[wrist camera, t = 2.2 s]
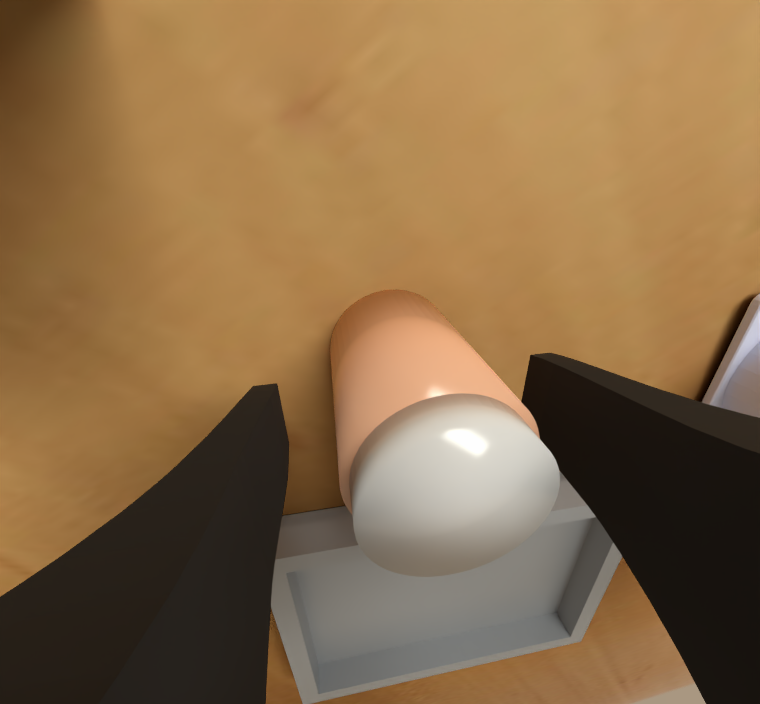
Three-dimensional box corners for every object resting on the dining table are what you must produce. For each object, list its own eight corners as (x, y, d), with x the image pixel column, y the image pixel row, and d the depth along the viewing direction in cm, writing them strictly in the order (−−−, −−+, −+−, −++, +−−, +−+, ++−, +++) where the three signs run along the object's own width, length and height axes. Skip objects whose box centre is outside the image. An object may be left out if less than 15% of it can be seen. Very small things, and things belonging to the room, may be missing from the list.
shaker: (451, 285, 12) (596, 401, 6) (444, 390, 14) (545, 561, 8) (323, 295, 11) (331, 437, 5) (335, 403, 13) (351, 599, 7)
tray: (619, 462, 18) (652, 493, 16) (561, 607, 24) (580, 641, 22) (263, 518, 15) (256, 562, 14) (304, 663, 22) (303, 705, 20)
